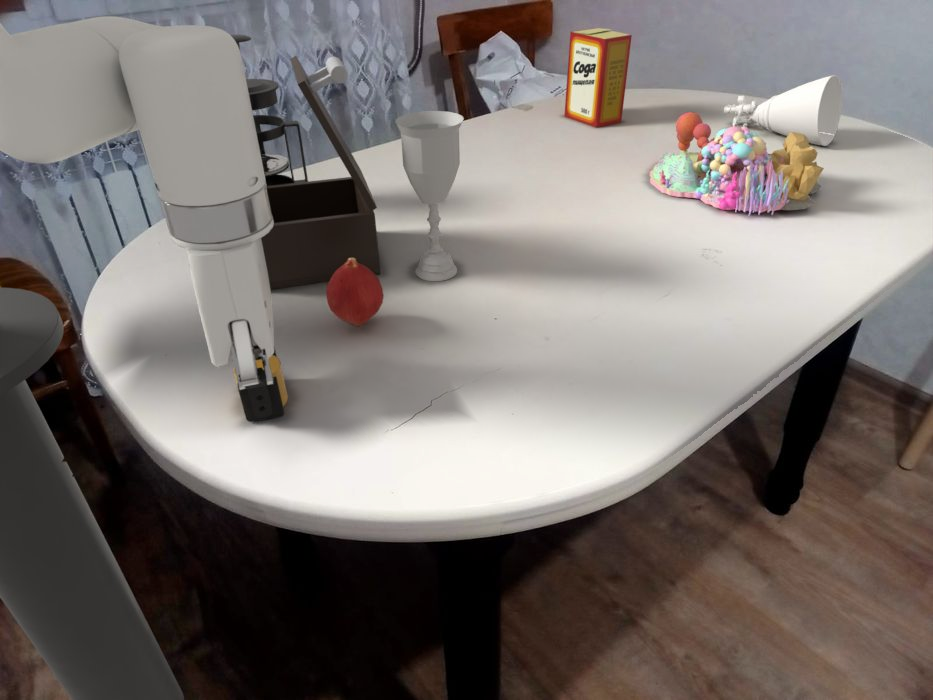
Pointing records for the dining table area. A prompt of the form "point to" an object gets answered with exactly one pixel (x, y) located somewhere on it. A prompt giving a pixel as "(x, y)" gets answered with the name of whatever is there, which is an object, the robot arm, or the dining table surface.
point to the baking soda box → (597, 76)
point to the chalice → (431, 176)
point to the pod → (276, 373)
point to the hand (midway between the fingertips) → (264, 398)
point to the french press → (261, 98)
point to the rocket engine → (797, 111)
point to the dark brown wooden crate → (318, 231)
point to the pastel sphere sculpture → (738, 169)
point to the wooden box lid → (309, 91)
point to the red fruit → (354, 293)
